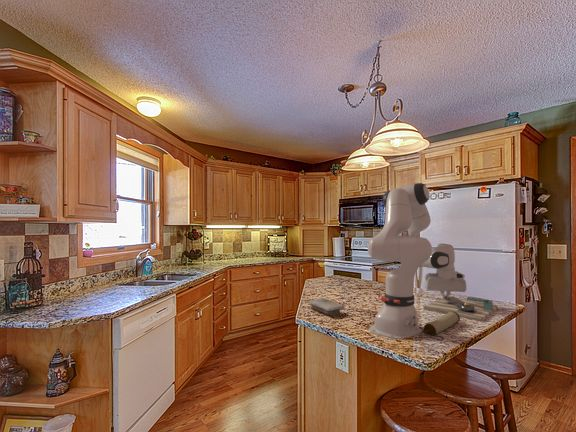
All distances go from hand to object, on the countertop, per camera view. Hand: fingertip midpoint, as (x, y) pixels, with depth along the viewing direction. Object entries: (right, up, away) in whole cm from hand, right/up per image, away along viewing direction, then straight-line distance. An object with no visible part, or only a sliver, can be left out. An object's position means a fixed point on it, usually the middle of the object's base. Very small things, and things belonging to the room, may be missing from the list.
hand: (445, 299), depth 164 cm
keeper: (+11, -1, -11) cm, 16 cm away
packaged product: (-62, -1, -9) cm, 63 cm away
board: (+4, -3, -7) cm, 9 cm away
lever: (+3, -1, -9) cm, 9 cm away
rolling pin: (-20, -3, -36) cm, 41 cm away
